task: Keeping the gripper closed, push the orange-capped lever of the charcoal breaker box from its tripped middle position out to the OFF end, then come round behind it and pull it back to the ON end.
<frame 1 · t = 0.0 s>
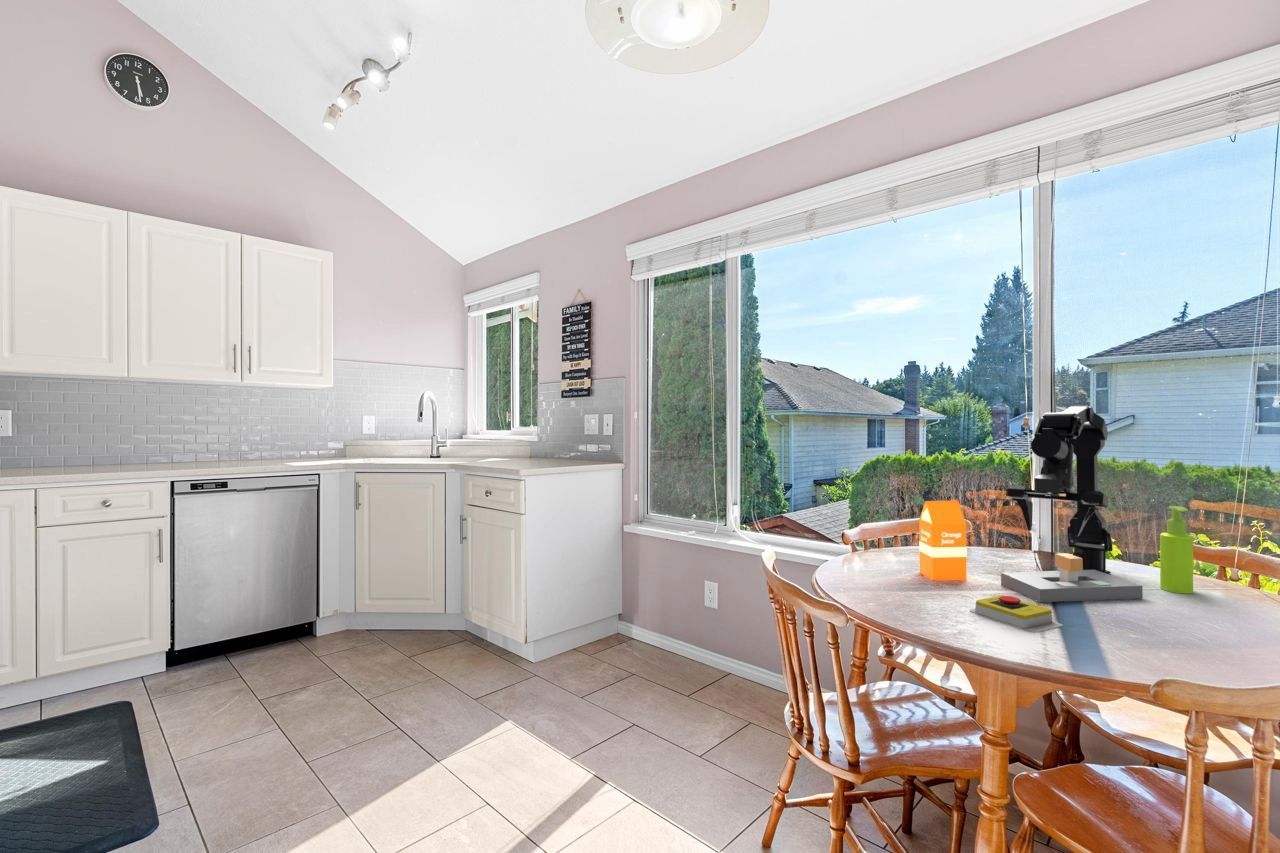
hand: (1052, 533, 138), 15 cm above the table, tool pointing down, fingers open, 9 cm apart
emergency button: (1014, 621, 128), on the table
orange juice: (942, 577, 160), on the table
breaker box: (1068, 591, 145), on the table
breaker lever: (1068, 571, 145), point 5 cm above the table, slide at 4.0 cm
soap dispenser: (1177, 591, 144), on the table
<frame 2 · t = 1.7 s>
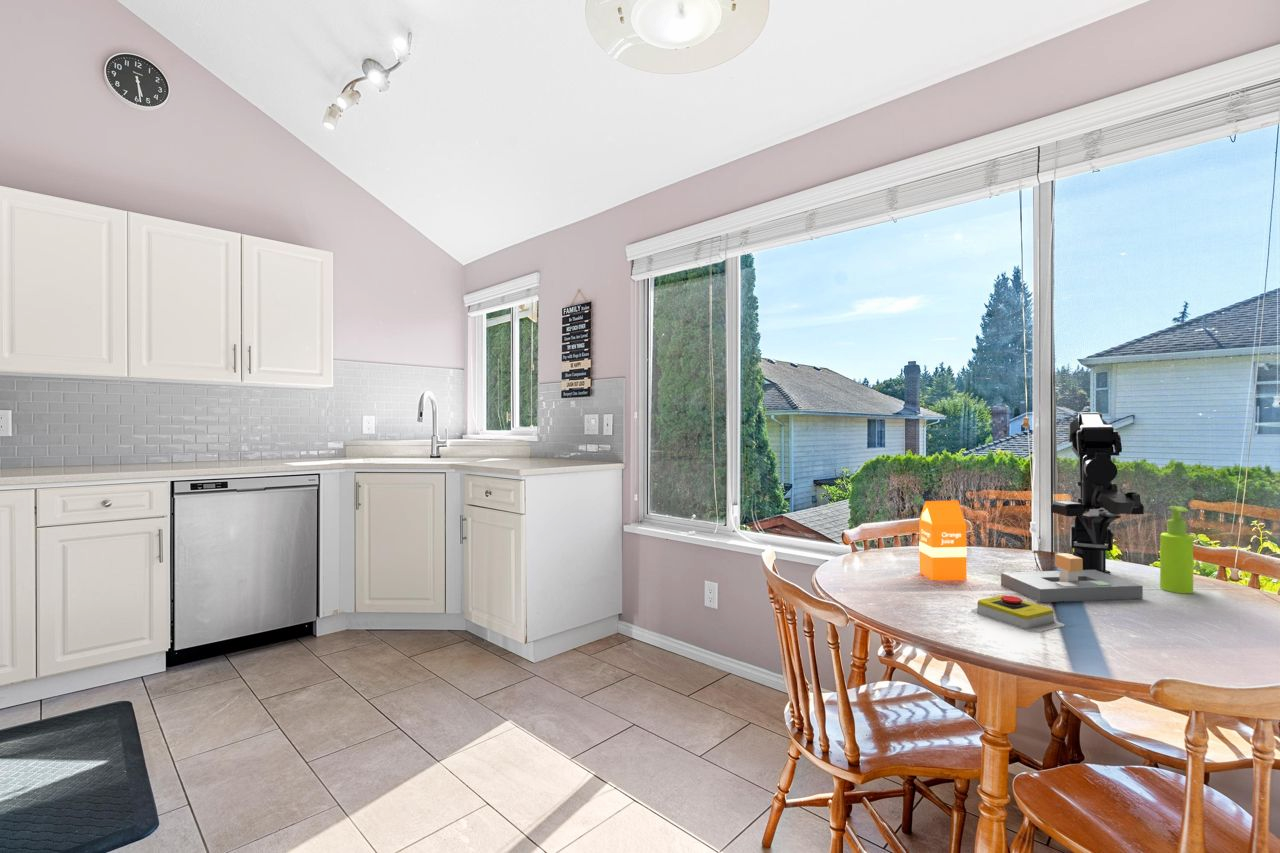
hand: (1096, 543, 145), 11 cm above the table, tool pointing down, fingers closed
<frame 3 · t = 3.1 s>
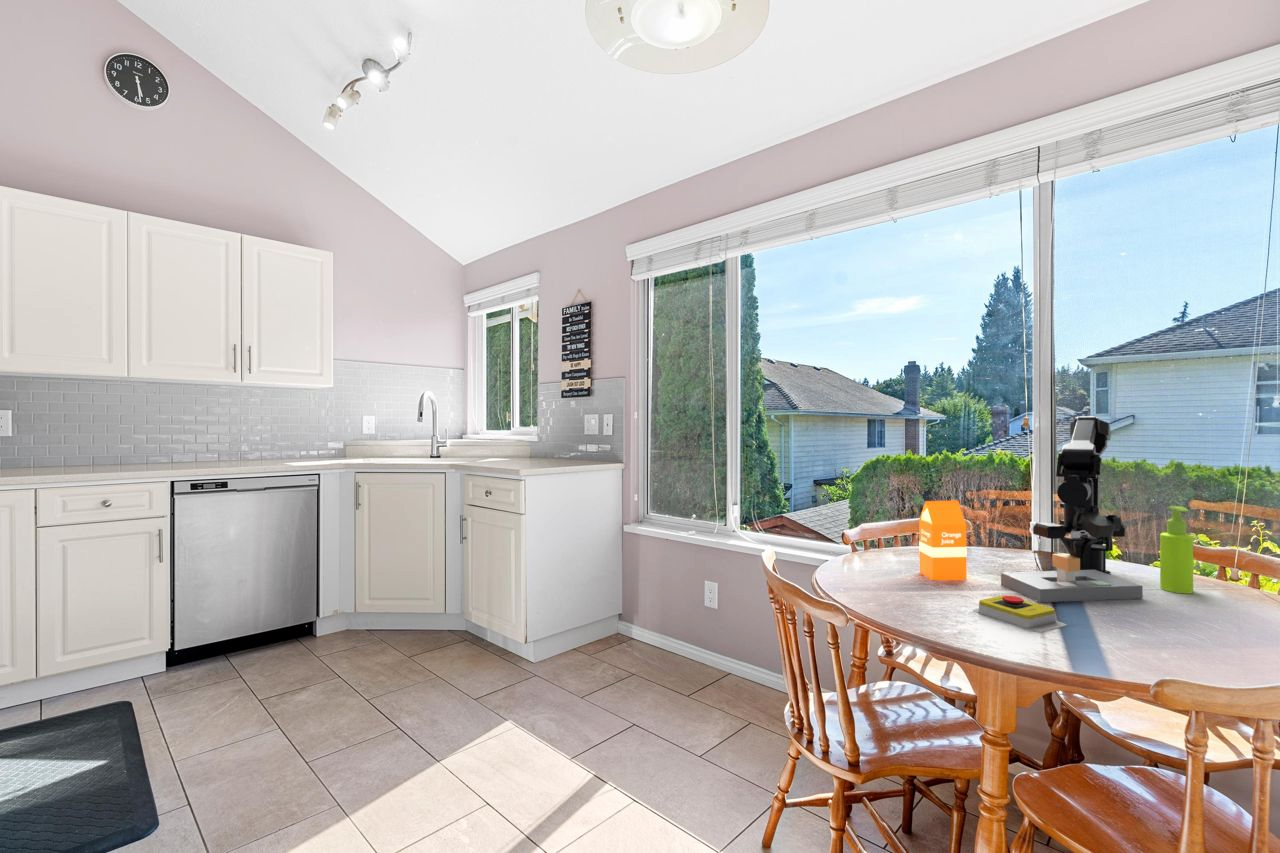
hand: (1078, 565, 145), 6 cm above the table, tool pointing down, fingers closed
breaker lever: (1065, 571, 145), point 5 cm above the table, slide at 4.6 cm, touching gripper
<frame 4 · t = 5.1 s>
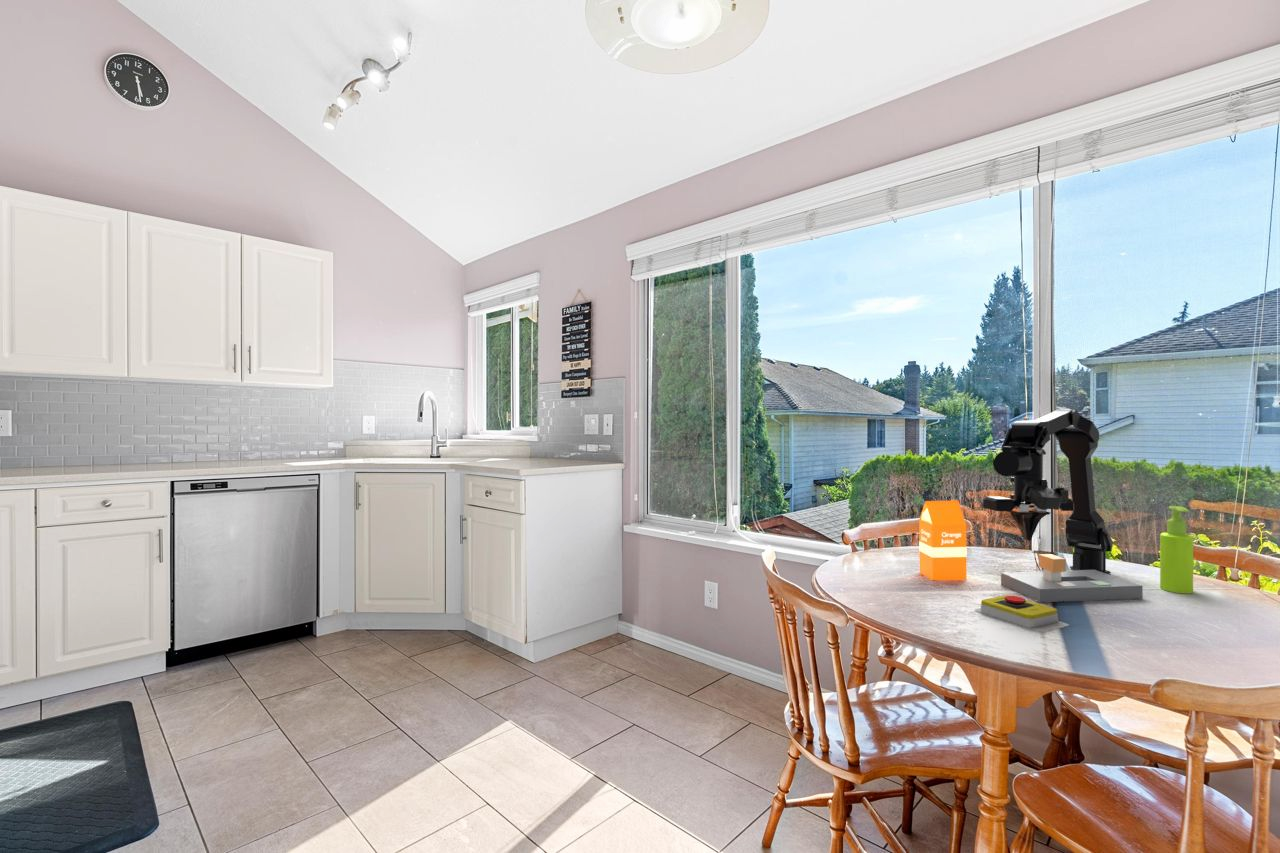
hand: (1027, 540, 144), 13 cm above the table, tool pointing down, fingers closed
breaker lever: (1052, 571, 145), point 5 cm above the table, slide at 8.0 cm
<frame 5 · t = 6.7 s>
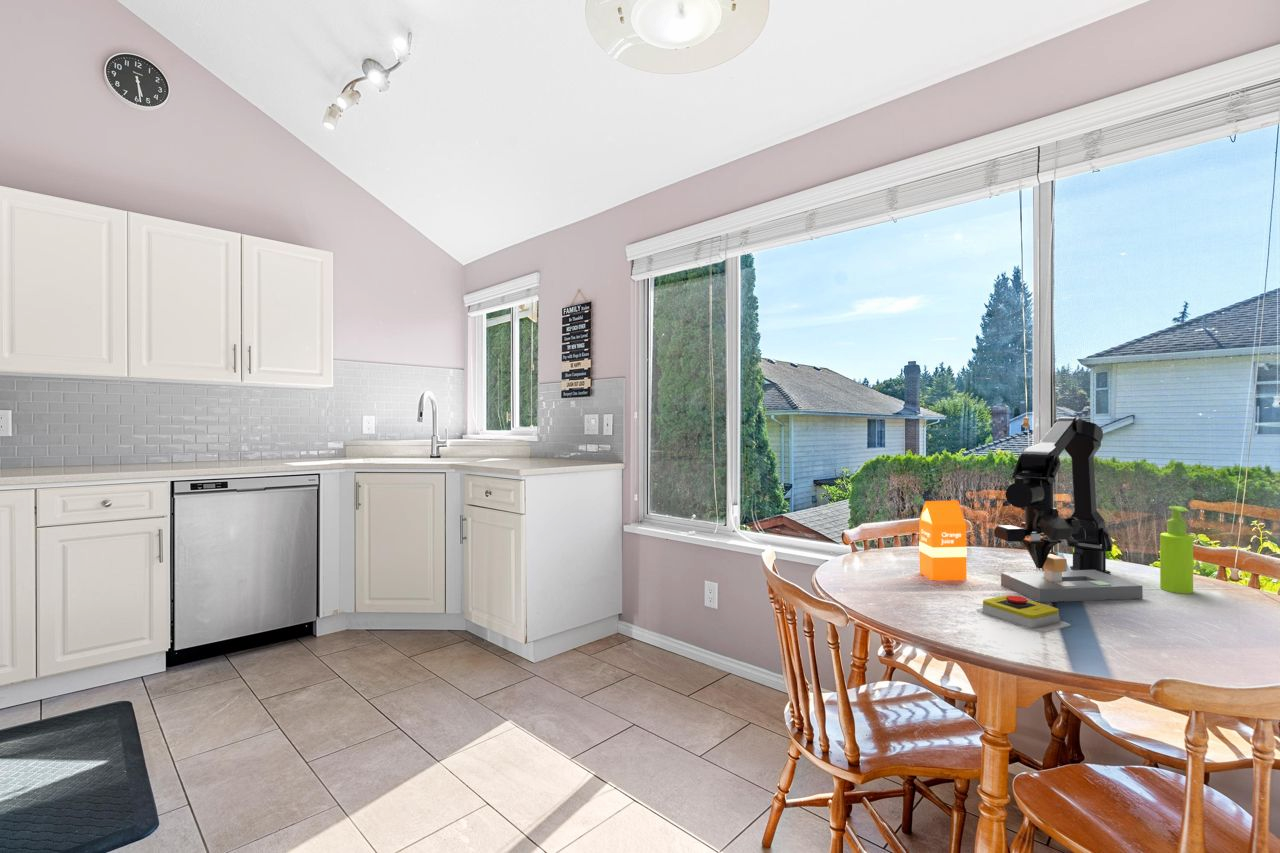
hand: (1039, 568, 145), 6 cm above the table, tool pointing down, fingers closed
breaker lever: (1052, 571, 145), point 5 cm above the table, slide at 7.9 cm, touching gripper
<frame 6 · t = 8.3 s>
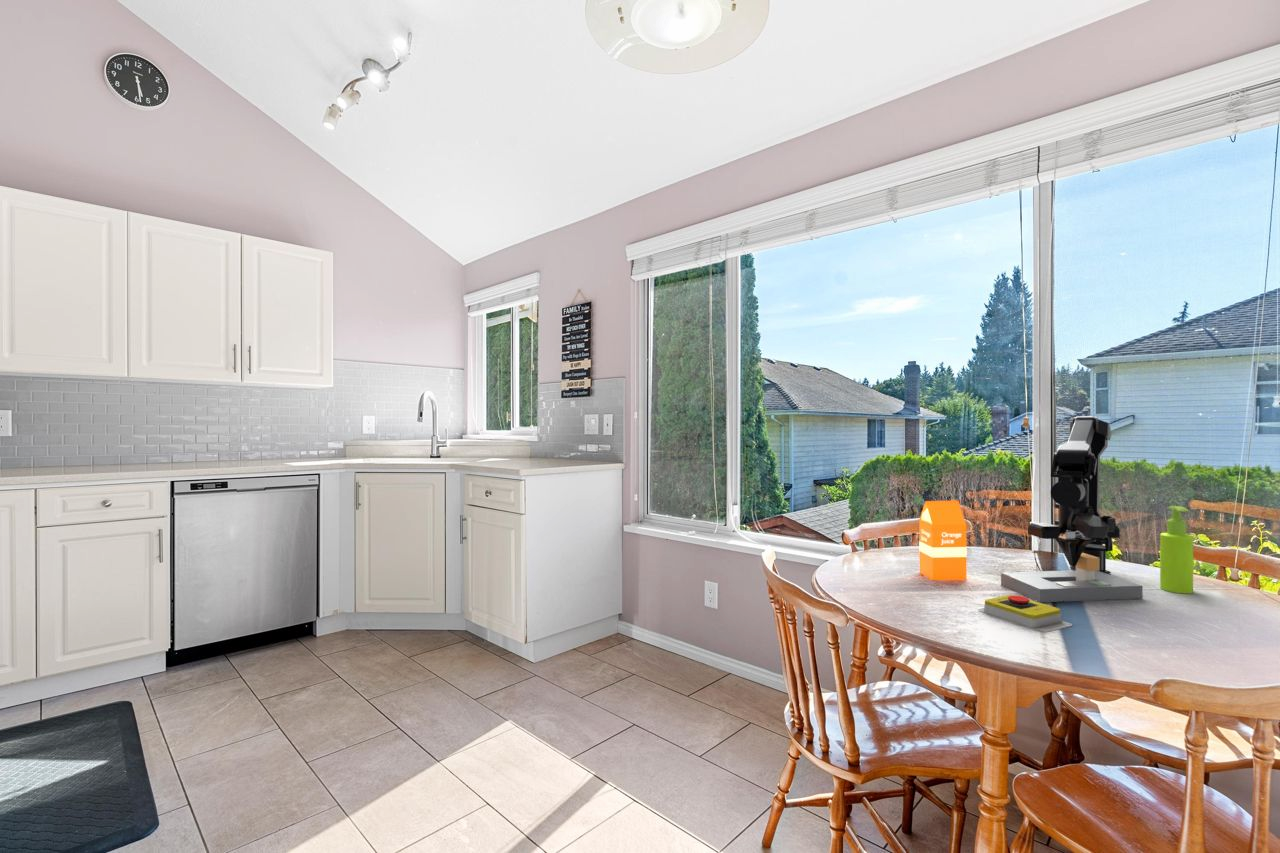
hand: (1072, 566, 145), 6 cm above the table, tool pointing down, fingers closed
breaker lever: (1085, 570, 145), point 5 cm above the table, slide at -0.1 cm, touching gripper
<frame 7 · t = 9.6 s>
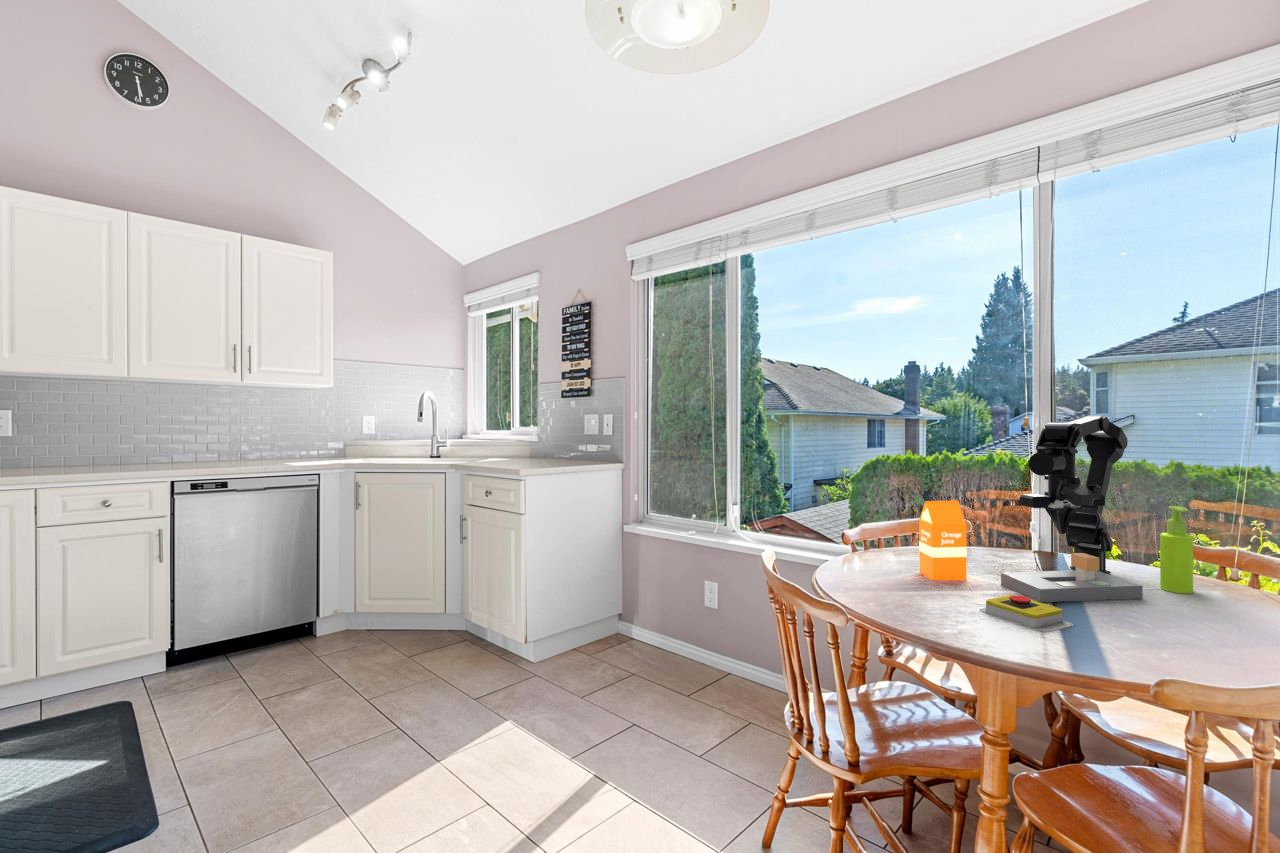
hand: (1062, 533, 154), 12 cm above the table, tool pointing down, fingers closed
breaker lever: (1085, 570, 145), point 5 cm above the table, slide at 0.0 cm
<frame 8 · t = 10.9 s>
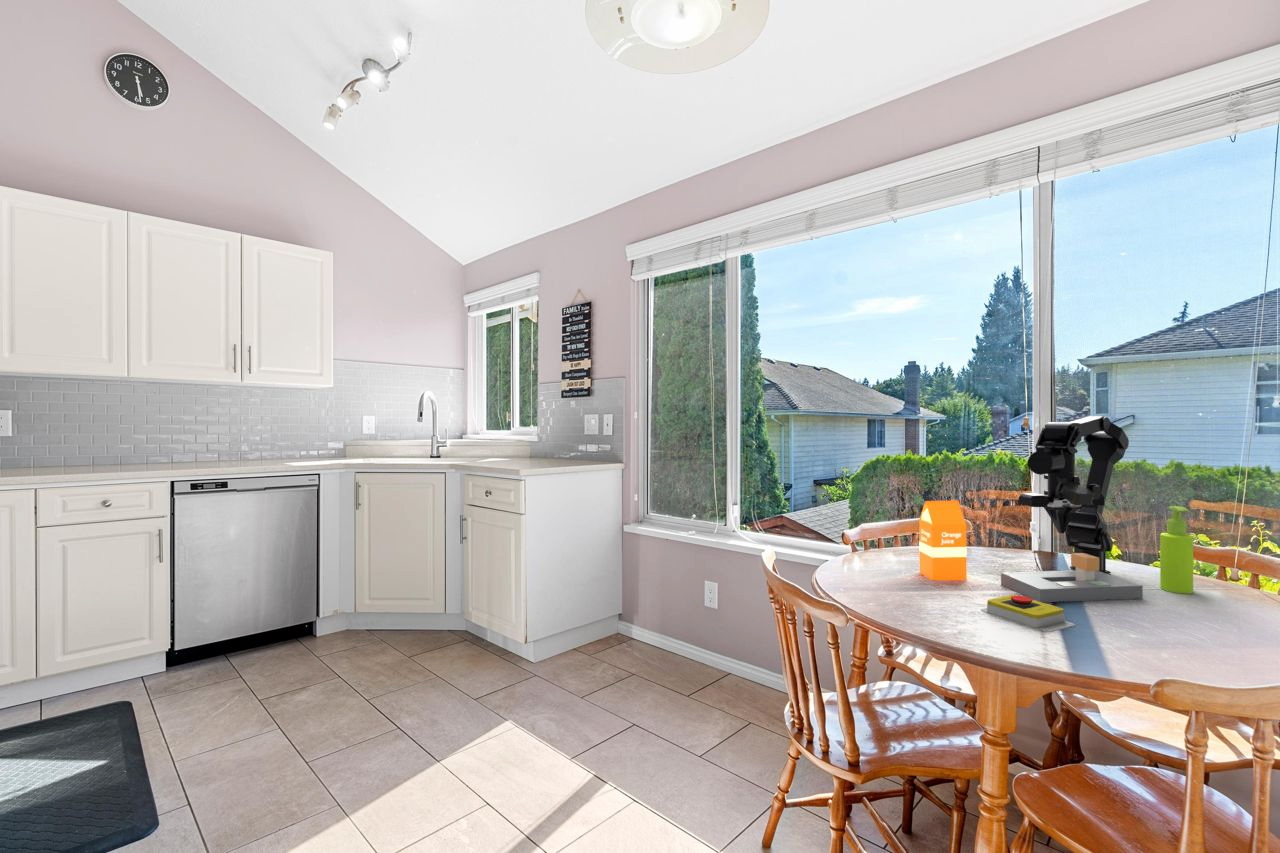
hand: (1061, 533, 154), 12 cm above the table, tool pointing down, fingers closed
at the end: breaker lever slide at 0.0 cm; orange juice moved 0.2 cm from its start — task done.
